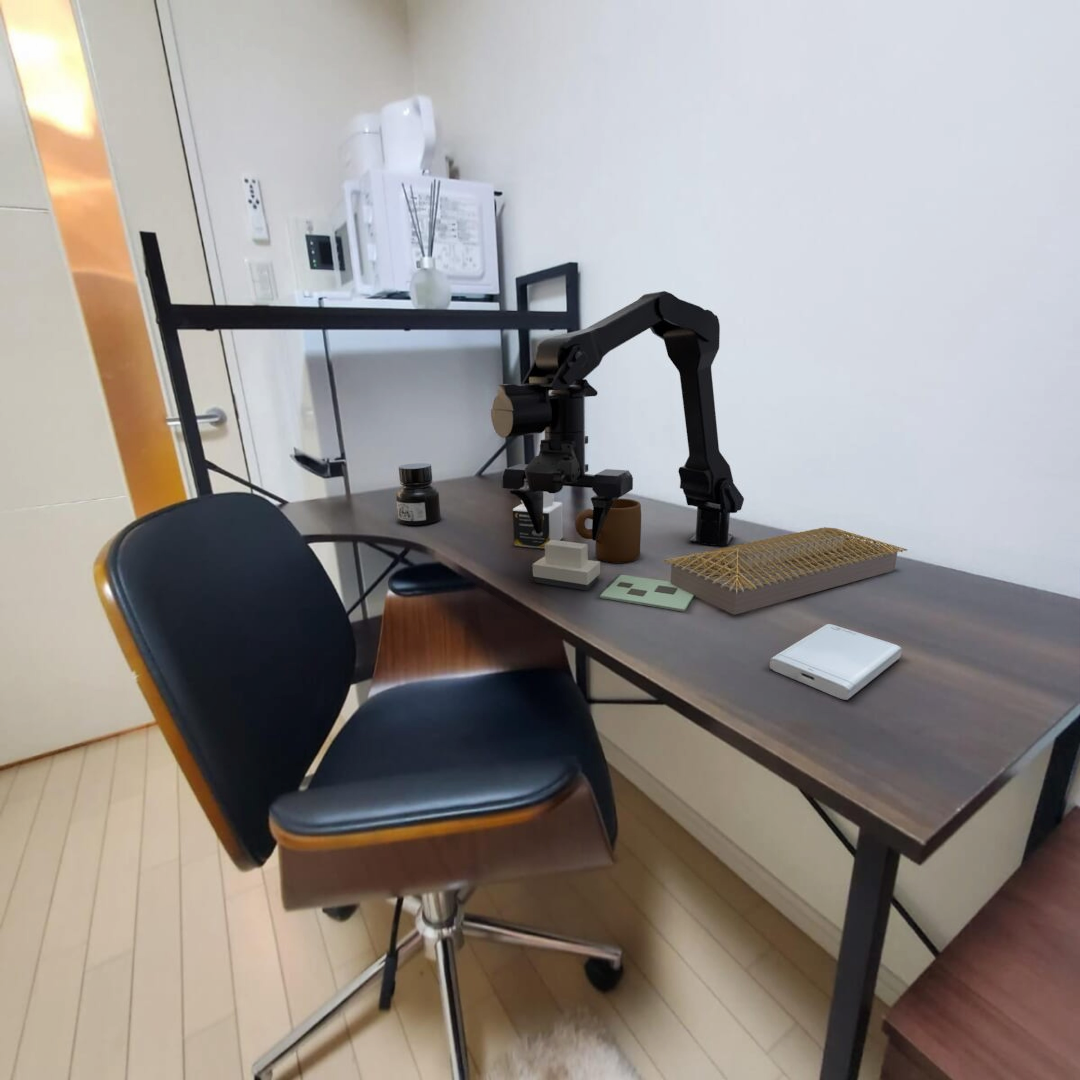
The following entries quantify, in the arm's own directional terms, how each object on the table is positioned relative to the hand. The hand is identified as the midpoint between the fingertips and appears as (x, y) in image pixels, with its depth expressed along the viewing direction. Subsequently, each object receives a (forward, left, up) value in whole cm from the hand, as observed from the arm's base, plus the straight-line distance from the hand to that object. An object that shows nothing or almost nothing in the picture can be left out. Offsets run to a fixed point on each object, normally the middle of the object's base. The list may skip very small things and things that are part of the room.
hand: (566, 536), depth 86 cm
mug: (-12, +2, -7) cm, 14 cm away
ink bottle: (-20, -44, -7) cm, 49 cm away
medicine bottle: (-16, -13, -7) cm, 22 cm away
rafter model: (-14, +30, -7) cm, 34 cm away
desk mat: (0, +13, -7) cm, 15 cm away
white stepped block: (0, 0, -7) cm, 7 cm away
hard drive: (+11, +37, -7) cm, 39 cm away
